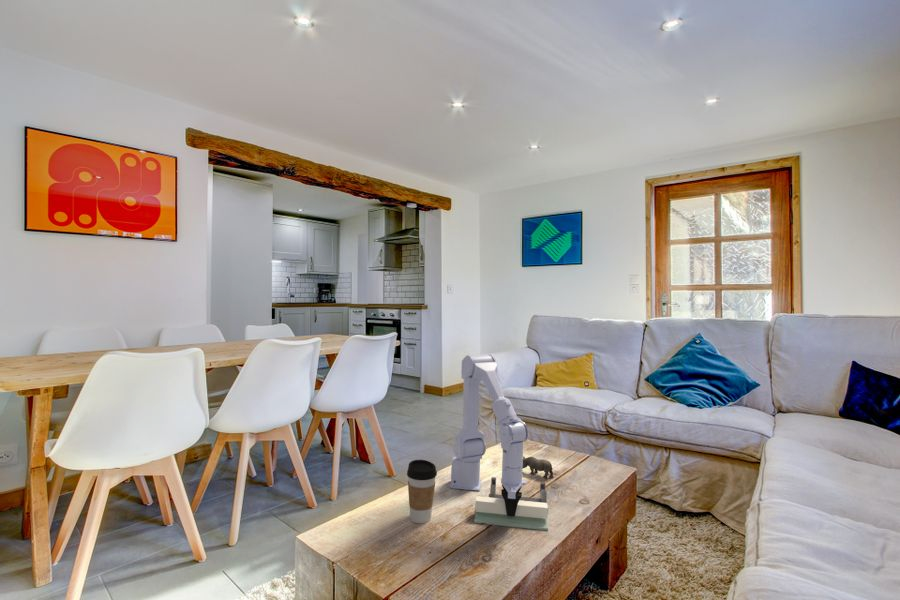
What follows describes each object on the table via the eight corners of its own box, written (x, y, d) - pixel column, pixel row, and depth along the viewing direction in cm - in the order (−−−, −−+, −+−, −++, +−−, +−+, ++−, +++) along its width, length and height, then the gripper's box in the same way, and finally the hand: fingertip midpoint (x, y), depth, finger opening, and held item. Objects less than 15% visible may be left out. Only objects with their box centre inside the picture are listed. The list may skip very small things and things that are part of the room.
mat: (474, 522, 119) (474, 520, 119) (476, 507, 128) (476, 505, 128) (548, 530, 116) (548, 528, 116) (545, 514, 125) (545, 512, 125)
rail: (475, 511, 122) (475, 500, 122) (476, 506, 125) (476, 496, 125) (547, 518, 119) (547, 508, 119) (546, 513, 122) (547, 503, 122)
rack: (487, 506, 128) (488, 486, 128) (489, 496, 135) (489, 477, 135) (548, 512, 126) (548, 492, 126) (546, 501, 133) (546, 482, 133)
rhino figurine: (518, 467, 159) (518, 451, 159) (554, 476, 152) (555, 459, 152) (513, 471, 155) (514, 454, 155) (550, 481, 148) (551, 463, 148)
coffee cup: (422, 507, 126) (423, 456, 126) (441, 518, 120) (443, 465, 120) (399, 517, 121) (400, 463, 120) (418, 529, 114) (420, 473, 114)
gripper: (527, 476, 114) (525, 527, 114) (525, 456, 128) (524, 502, 128) (500, 474, 115) (499, 524, 115) (502, 454, 129) (500, 499, 129)
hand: (510, 512), depth 122 cm, fingers closed on rail, 3 cm apart
